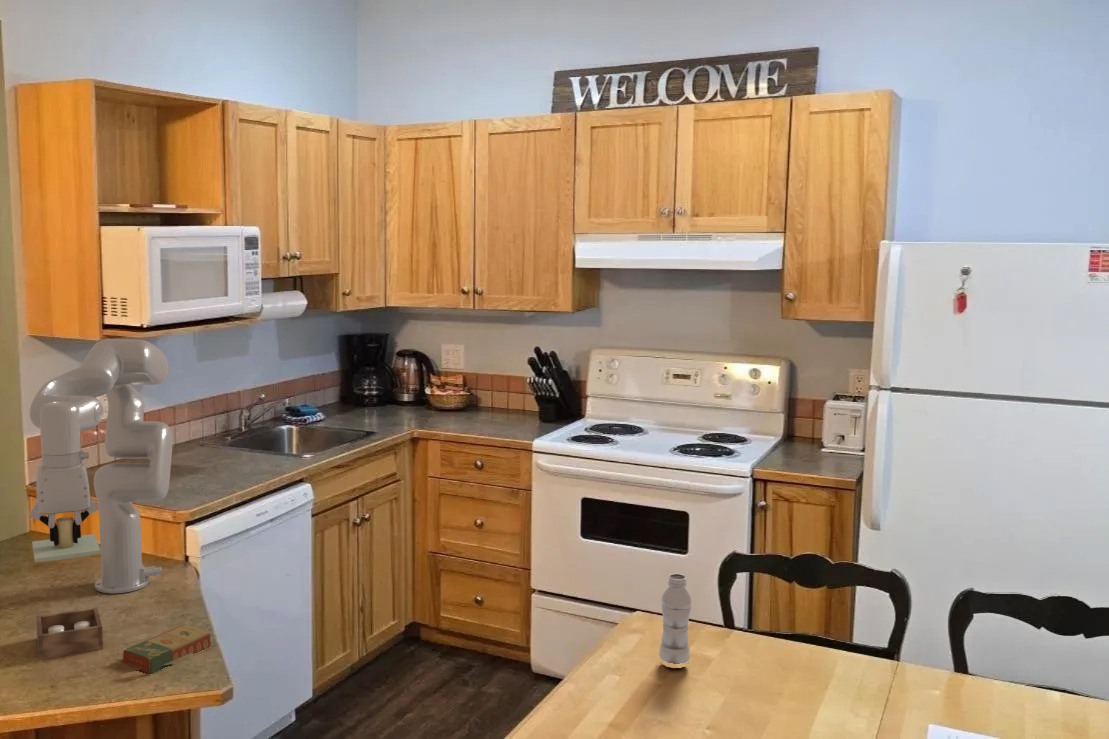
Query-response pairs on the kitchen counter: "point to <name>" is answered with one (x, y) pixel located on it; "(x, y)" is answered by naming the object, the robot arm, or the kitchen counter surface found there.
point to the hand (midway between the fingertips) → (65, 542)
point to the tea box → (69, 633)
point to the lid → (65, 544)
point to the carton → (166, 648)
